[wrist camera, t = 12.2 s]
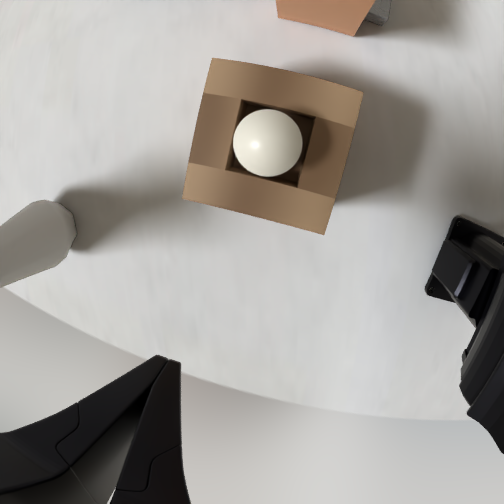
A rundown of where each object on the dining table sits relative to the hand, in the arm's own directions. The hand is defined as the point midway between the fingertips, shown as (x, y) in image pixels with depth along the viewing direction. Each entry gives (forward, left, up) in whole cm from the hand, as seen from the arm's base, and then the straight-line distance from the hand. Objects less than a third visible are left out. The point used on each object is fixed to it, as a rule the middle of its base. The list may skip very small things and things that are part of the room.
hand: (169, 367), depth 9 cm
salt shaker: (+16, +3, -13) cm, 21 cm away
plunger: (-1, -7, -9) cm, 11 cm away
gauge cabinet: (-1, -7, -13) cm, 15 cm away
